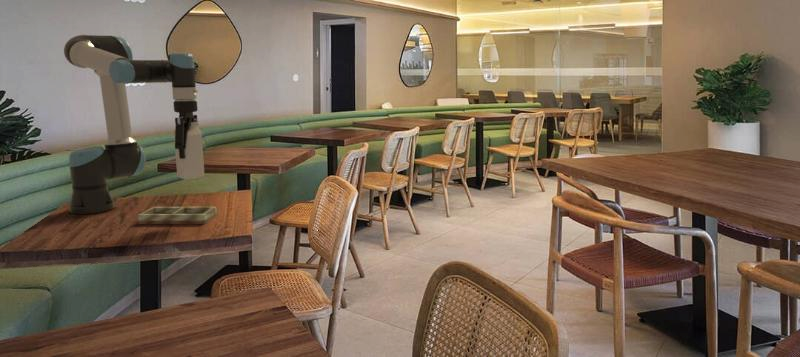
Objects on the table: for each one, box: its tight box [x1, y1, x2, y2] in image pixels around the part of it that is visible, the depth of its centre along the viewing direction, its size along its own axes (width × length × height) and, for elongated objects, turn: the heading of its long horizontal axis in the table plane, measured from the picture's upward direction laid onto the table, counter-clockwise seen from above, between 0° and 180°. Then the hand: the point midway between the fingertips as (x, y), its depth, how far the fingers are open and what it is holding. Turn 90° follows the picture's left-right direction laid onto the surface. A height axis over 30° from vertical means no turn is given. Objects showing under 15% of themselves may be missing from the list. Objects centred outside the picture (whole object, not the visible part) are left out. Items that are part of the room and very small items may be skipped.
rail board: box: [137, 206, 218, 225], centre depth 209 cm, size 23×12×3 cm, turn 88°
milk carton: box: [173, 121, 206, 180], centre depth 204 cm, size 7×7×19 cm
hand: (190, 165), depth 205 cm, fingers closed on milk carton, 10 cm apart
